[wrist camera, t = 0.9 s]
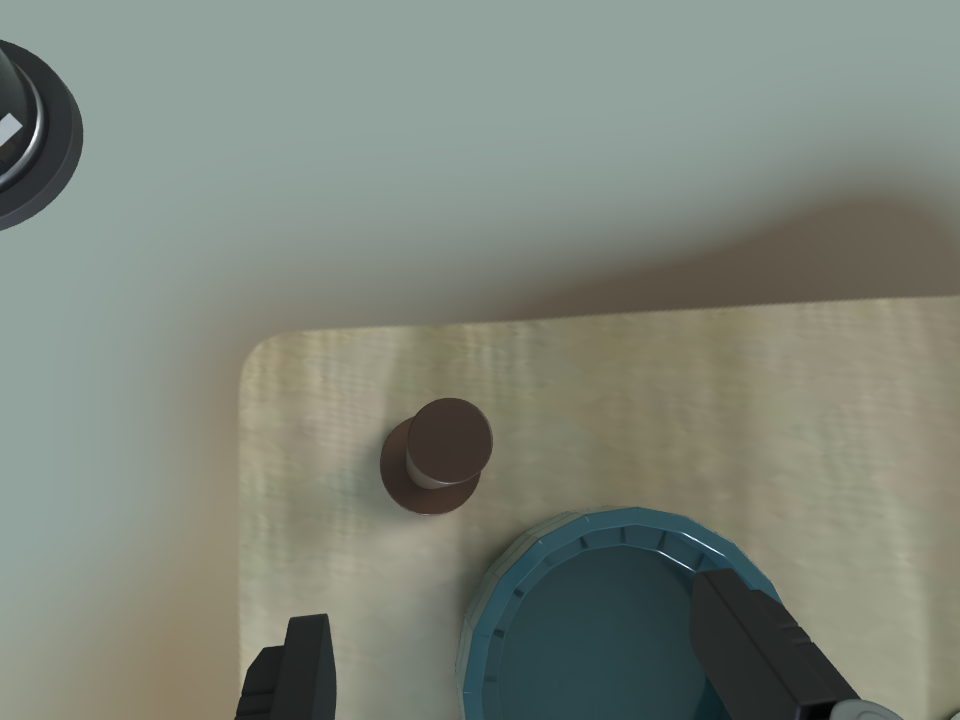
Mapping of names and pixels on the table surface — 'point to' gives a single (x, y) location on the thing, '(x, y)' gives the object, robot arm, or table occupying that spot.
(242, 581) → the table surface
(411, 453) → the brown post with base
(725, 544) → the bowl
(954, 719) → the can
